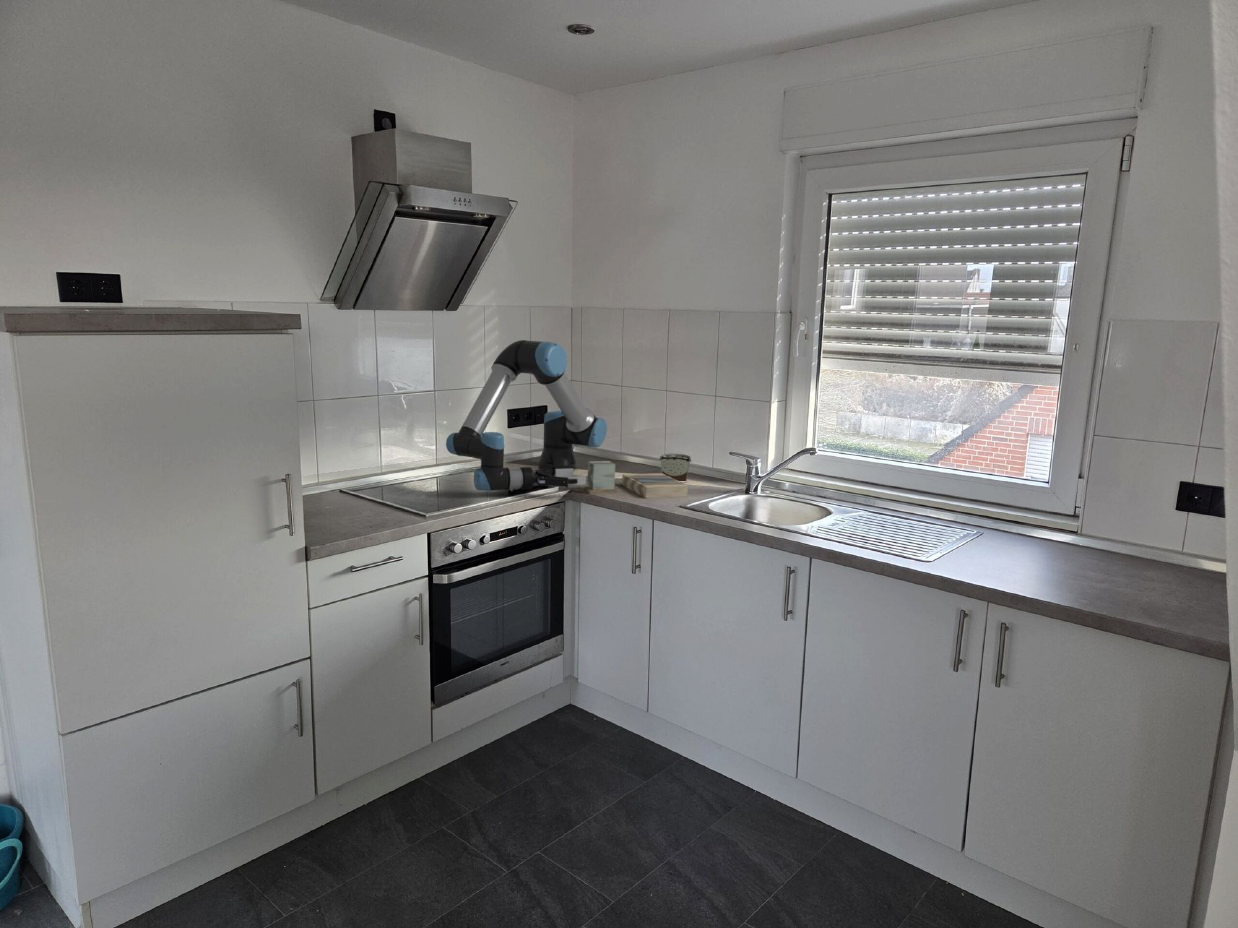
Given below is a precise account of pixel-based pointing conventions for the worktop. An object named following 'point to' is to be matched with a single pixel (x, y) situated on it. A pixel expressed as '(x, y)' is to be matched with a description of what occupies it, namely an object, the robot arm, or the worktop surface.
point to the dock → (654, 485)
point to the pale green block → (600, 477)
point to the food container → (675, 466)
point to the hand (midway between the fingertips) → (579, 476)
